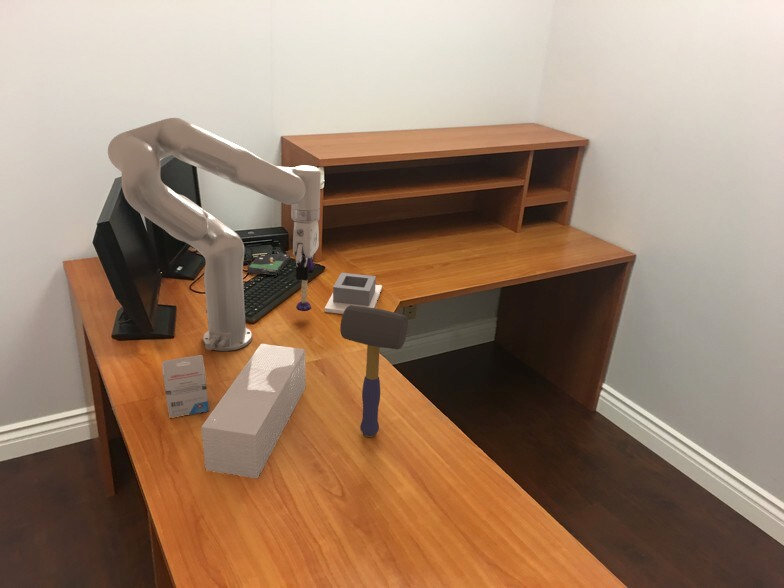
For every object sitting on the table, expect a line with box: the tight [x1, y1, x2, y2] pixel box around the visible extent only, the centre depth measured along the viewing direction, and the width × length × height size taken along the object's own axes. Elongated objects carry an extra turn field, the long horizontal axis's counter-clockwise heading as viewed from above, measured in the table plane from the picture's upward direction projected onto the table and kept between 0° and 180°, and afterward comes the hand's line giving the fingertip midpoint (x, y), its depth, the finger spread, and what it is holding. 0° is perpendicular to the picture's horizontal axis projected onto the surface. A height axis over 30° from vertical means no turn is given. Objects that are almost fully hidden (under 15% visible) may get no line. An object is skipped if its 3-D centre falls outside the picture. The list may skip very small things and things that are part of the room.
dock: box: [324, 272, 383, 315], centre depth 191 cm, size 20×14×6 cm
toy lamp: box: [295, 254, 315, 312], centre depth 175 cm, size 5×5×17 cm
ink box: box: [161, 354, 210, 419], centre depth 135 cm, size 8×5×15 cm, turn 114°
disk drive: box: [247, 252, 291, 275], centre depth 212 cm, size 10×3×15 cm
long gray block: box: [200, 343, 307, 479], centre depth 133 cm, size 32×11×11 cm, turn 171°
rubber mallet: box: [339, 305, 409, 438], centre depth 128 cm, size 12×8×30 cm, turn 73°
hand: (304, 275), depth 174 cm, fingers closed on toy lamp, 4 cm apart
